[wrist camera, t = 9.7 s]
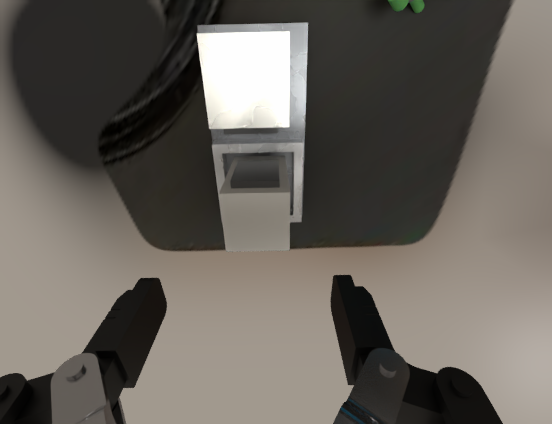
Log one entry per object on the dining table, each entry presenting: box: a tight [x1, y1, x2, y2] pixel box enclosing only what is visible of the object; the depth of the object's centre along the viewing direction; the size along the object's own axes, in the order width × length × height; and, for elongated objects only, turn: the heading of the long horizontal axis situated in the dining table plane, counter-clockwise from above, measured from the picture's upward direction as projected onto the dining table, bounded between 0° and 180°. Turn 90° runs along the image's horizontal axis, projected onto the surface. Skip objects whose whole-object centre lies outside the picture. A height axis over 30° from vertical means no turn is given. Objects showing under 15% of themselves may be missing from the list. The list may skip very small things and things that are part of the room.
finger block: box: [219, 156, 290, 252], centre depth 22 cm, size 4×5×8 cm
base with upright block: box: [197, 23, 308, 224], centre depth 20 cm, size 16×8×9 cm, turn 1°
